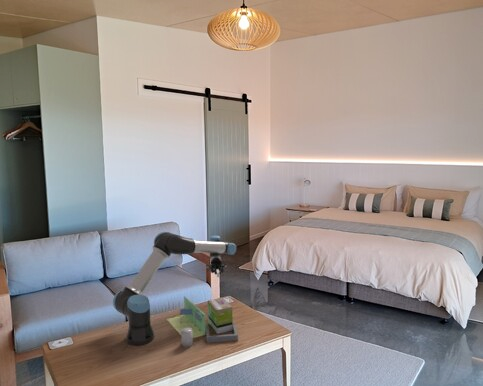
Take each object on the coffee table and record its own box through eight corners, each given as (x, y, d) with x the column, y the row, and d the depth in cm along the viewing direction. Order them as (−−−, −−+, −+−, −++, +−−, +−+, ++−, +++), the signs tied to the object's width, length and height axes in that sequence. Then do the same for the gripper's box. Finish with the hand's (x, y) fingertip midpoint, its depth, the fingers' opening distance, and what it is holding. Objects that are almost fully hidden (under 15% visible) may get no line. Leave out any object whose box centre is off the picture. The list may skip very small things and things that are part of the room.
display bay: (206, 342, 215) (206, 337, 214) (206, 330, 228) (205, 325, 227) (238, 340, 216) (237, 335, 216) (235, 328, 230) (235, 323, 229)
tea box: (207, 323, 237) (207, 299, 235) (223, 319, 241) (222, 296, 239) (217, 334, 223) (216, 309, 221) (233, 330, 228) (232, 306, 226)
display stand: (205, 335, 224) (205, 314, 222) (185, 340, 218) (184, 319, 216) (185, 315, 249) (184, 296, 248) (166, 319, 243) (165, 300, 242)
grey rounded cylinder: (181, 347, 210) (181, 333, 209) (181, 341, 216) (181, 328, 215) (192, 346, 211) (192, 332, 210) (192, 340, 217) (192, 327, 216)
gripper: (226, 267, 265) (229, 280, 242) (206, 268, 264) (207, 281, 240) (225, 256, 264) (228, 268, 241) (206, 257, 263) (207, 269, 239)
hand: (218, 274), depth 241 cm, fingers closed
